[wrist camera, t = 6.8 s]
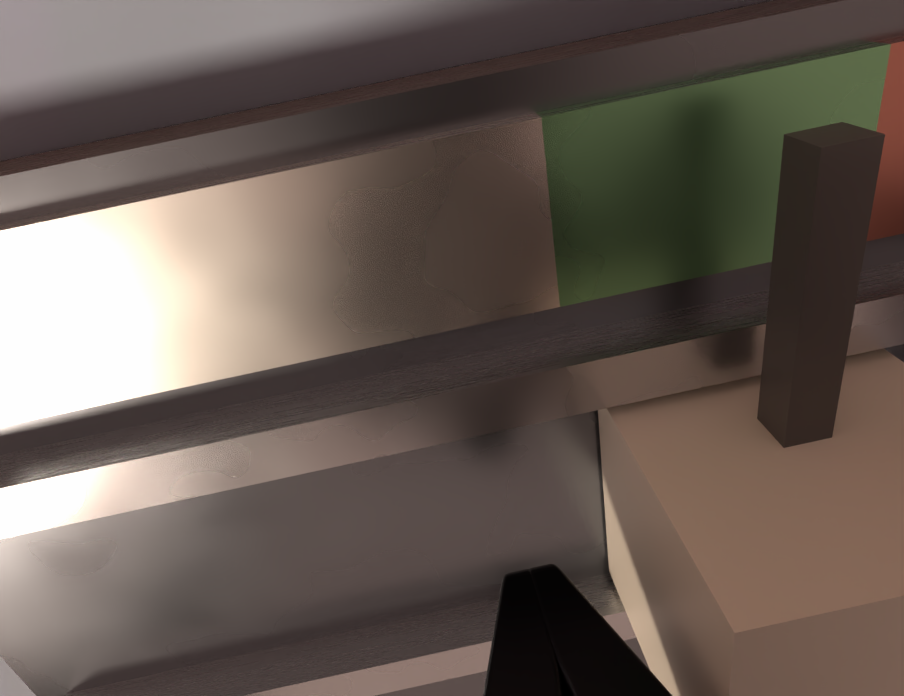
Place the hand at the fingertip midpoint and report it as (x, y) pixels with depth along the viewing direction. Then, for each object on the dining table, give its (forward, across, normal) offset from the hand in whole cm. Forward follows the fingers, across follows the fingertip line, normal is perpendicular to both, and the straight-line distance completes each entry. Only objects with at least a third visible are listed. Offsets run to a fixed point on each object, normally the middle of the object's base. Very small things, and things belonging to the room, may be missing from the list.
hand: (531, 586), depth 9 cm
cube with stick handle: (+2, -4, -2) cm, 4 cm away
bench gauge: (+3, -1, 0) cm, 3 cm away
